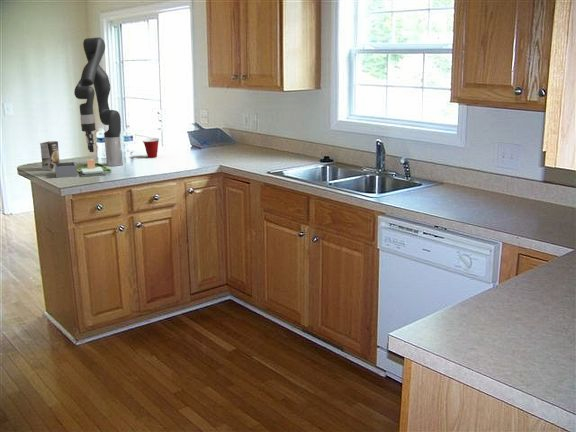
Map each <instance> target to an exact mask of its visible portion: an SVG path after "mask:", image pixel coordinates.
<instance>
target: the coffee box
mask: <svg viewBox="0 0 576 432" xmlns="http://www.w3.org/2000/svg"><path fill="white" fill-rule="evenodd" d="M39 144H40V154H41V156H40V157H41V165H42V171H49V172H52V171H55V164H54V163H61V160H60V150H59V141H56V140H55V141H53V140H52V141H44V142H40V143H39Z"/></svg>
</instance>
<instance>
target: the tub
mask: <svg viewBox="0 0 576 432" xmlns="http://www.w3.org/2000/svg"><path fill="white" fill-rule="evenodd" d="M54 164H55V170H54V172H55V177H56V178H57V179H59V178H60V179H61V178H70V177H73V178H75V177H78V171H77V170H78V169H77V164H76V162H75V161H71V162H60V163H54Z"/></svg>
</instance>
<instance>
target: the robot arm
mask: <svg viewBox="0 0 576 432" xmlns="http://www.w3.org/2000/svg"><path fill="white" fill-rule="evenodd" d="M82 45H83V51H84V55H85V56H86V60H87V63H86V64H85V65H84V67H83V68H82V72H81V77H80V79H79V81H78V83H77V84H76V86H75V88H74V96H75V98H76V99H78V100H86V102H85V103H81V104H79V115H80V125H81V131H82V132H85V140H86V143H87V150H88V151H89V153H94V152H95V151H94V149H95V148H94V146H95V145H94V144H95V143H94V134H93V133H92V132H95V131H96V130H97V129H96V121H95V120H96V119H95V116H94V106H93V105H94V99H95V96H96V102H97V106H98V107H97V108H98V109H97V110H98V116H99V120H100V123H102V124H103V125H105V126H108V129H107V131H104V133H103V139H104V151H105V158H106V159H105V163H106V165H107V166H110V167H116V166H123V153H122V152H123V151H122V145H121V144H122V143H121V132H122V128H121V127H122V124H121V123H122V121H121V115H120V112H119V111H117V110H115V109H114V110H113V109H110V107H109V106H110V105H109V95H110V92H111V83H110V79H109V75H108V74H107V72H106V71H105V70H104V69H103V68H102V67H101V65H100V63H101V61H102V58H103V56H104V54H105V50H106V44H105V41H104V39H103V38H101V37H90V38H89V37H87V38H84V39H83V42H82ZM92 86H93V87H94V88H93V87H92Z"/></svg>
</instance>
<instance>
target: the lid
mask: <svg viewBox="0 0 576 432" xmlns="http://www.w3.org/2000/svg"><path fill="white" fill-rule="evenodd" d="M86 164H87V167H82V168H80V169H81V170H80V171H82V173H83V174H84V173H85V175H89V174H101V172H103V171H104V169H103V168H102V167H101V166H96V162H95V159H93V158H91V159H86Z"/></svg>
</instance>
